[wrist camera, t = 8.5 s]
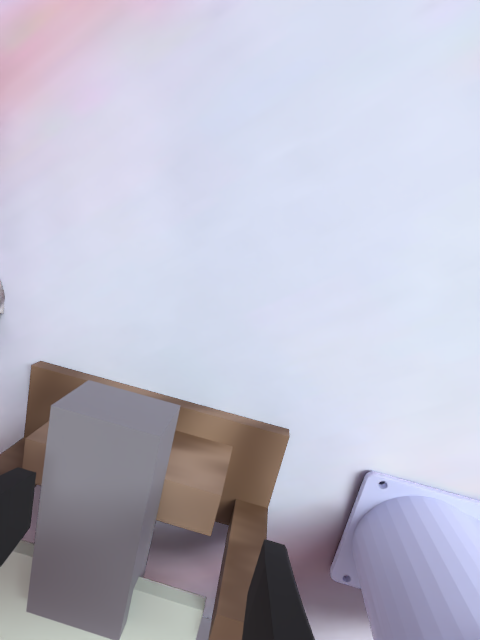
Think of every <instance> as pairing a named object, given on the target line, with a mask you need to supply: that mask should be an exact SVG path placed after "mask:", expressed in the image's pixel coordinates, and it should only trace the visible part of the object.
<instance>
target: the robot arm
mask: <svg viewBox="0 0 480 640" xmlns="http://www.w3.org/2000/svg"><path fill="white" fill-rule="evenodd" d="M35 479H36V472H33V471H29V470H26V469H23V468H19V467H17V468H15V469H13V470H11V471H8V472H6V473H4V474H2V475H0V567H1V566H2V565H3V563H4V562H5V561H6V559H7V558H8V557H9V555H10V554H11V553H12V551H13V550H14V549H15V547H16V546H17V545H18V543H19V542H20V540H21V539H22V538H23V536H24V535H25V533H26V532H27V530H28V529H29V528H30V523H31V514H32V506H33V497H34V488H35ZM381 481H385V483H384V484H382V485H381V484H379V482H381ZM330 575H331V578H332V579H333V580H334V581H336V582H339V583H342V584H345V585H349V586H352V587H355V588H359V589H361V590H362V594H363V598H364V602H365V606H366V610H367V614H368V618H369V622H370V626H371V631H372V635H373V639H374V640H480V501H479V500H475V499H472V498H468V497H464V496H461V495H457V494H454V493H450V492H447V491H443V490H439V489H436V488H432V487H429V486H425V485H422V484H418V483H414V482H411V481H407V480H404V479H400V478H396V477H393V476H389V475H386V474H382V473H379V472H374V471H371V472H368V473H367V474H366V475H365V476H364V479H363V482H362V484H361V487H360V490H359V493H358V495H357V498H356V501H355V503H354V506H353V509H352V511H351V514H350V517H349V520H348V522H347V525H346V528H345V530H344V533H343V536H342V538H341V541H340V544H339V546H338V549H337V552H336V555H335V557H334V560H333V563H332V565H331V568H330ZM345 575H348V576H345ZM242 640H315V639H314V636H313V633H312V630H311V627H310V625H309V622H308V619H307V616H306V613H305V610H304V607H303V604H302V601H301V598H300V595H299V592H298V588H297V585H296V582H295V578H294V575H293V571H292V568H291V564H290V560H289V556H288V552H287V549H286V547H285V545H282V544H279V543H276V542H272V541H269V540H265V539H264V541H263V544H262V548H261V551H260V554H259V557H258V561H257V564H256V567H255V570H254V574H253V577H252V580H251V583H250V587H249V590H248V594H247V602H246V610H245V618H244V626H243V634H242Z"/></svg>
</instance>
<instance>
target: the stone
mask: <svg viewBox="0 0 480 640" xmlns="http://www.w3.org/2000/svg"><path fill="white" fill-rule="evenodd" d="M2 287H3V286H2V285H1V281H0V313H2V314H3V312H4V310H3V308H4V299H5V295H4V290H3V289H2Z"/></svg>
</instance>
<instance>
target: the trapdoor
mask: <svg viewBox="0 0 480 640" xmlns="http://www.w3.org/2000/svg"><path fill="white" fill-rule="evenodd" d="M180 406H181V405H177V404H173V403H170V402H166V401H163V400H159V399H155V398H152V397H148V396H145V395H141V394H137V393H134V392H130V391H126V390H123V389H119V388H116V387H112V386H108V385H105V384H101V383H98V382H94V381H90V380H88V381H86V382H85V383H83V384H82V385H81V386H79V387H78V388H76V389H75V390H73V391H72V392H70V393H69V394H67V395H66V396H64V397H63V398H61V399H60V400H58V401H57V402H55V403H54V404H52V405H51V410H50V418H49V427H48V435H47V443H46V451H45V460H44V468H43V476H42V485H41V493H40V501H39V509H38V518H37V526H36V534H35V542H34V544H33V543H30V542H26V541H23V540H20V542H19V543H18V545H17V546H16V547H15V549H14V550H13V551H12V553H11V554H10V555H9V557H8V558H7V559H6V561H5V562H4V563H3V565H2V566H1V567H0V640H196V637H197V633H198V630H199V626H200V622H201V619H202V615H203V612H204V607H205V602H206V597H203V596H200V595H197V594H194V593H190V592H187V591H184V590H181V589H178V588H174V587H171V586H168V585H165V584H162V583H158V582H155V581H152V580H149V579H145V578H143V577H144V573H145V568H146V564H147V559H148V554H149V550H150V545H151V540H152V536H153V531H154V527H155V522H156V517H157V513H158V508H159V503H160V499H161V494H162V490H163V485H164V480H165V476H166V471H167V466H168V462H169V457H170V453H171V448H172V443H173V439H174V434H175V429H176V425H177V420H178V416H179V411H180Z"/></svg>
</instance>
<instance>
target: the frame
mask: <svg viewBox="0 0 480 640" xmlns="http://www.w3.org/2000/svg"><path fill="white" fill-rule="evenodd" d="M88 380H90V381H94V382H98V383H101V384H105V385H108V386H112V387H116V388H119V389H123V390H126V391H130V392H134V393H137V394H141V395H145V396H148V397H152V398H155V399H159V400H163V401H166V402H170V403H173V404H177V405H181V406H180V411H179V416H178V420H177V425H176V429H175V434H174V439H173V443H172V448H171V453H170V457H169V462H168V466H167V471H166V476H165V480H164V485H163V490H162V494H161V499H160V503H159V508H158V513H157V517H156V520H158V521H161V522H164V523H168V524H171V525H174V526H178V527H181V528H184V529H188V530H191V531H194V532H198V533H201V534H204V535H208V536H211V534H212V530H213V526H214V522H215V521H216V522H219V523H222V524H226V525H229V527H228V532H227V538H226V543H225V549H224V554H223V560H222V565H221V571H220V577H219V582H218V588H217V593H216V599H215V604H214V610H213V615H212V621H211V626H210V632H209V638H208V640H242V634H243V626H244V618H245V610H246V602H247V594H248V590H249V587H250V583H251V580H252V577H253V574H254V570H255V567H256V564H257V561H258V557H259V554H260V551H261V548H262V544H263V541H264V539H265V540H266V538H267V513H268V505H269V502H270V499H271V496H272V492H273V489H274V486H275V482H276V479H277V476H278V473H279V469H280V466H281V463H282V459H283V456H284V453H285V449H286V446H287V443H288V440H289V429H285V428H282V427H278V426H274V425H271V424H267V423H264V422H260V421H256V420H253V419H249V418H245V417H242V416H238V415H235V414H231V413H227V412H224V411H220V410H216V409H213V408H209V407H206V406H202V405H198V404H195V403H191V402H187V401H184V400H180V399H177V398H173V397H169V396H166V395H162V394H158V393H155V392H151V391H148V390H144V389H140V388H137V387H133V386H130V385H126V384H122V383H119V382H115V381H111V380H108V379H104V378H101V377H97V376H93V375H90V374H86V373H82V372H79V371H75V370H72V369H68V368H64V367H61V366H57V365H53V364H50V363H46V362H43V361H40V362H37V363H35V364H33V365H31V375H30V385H29V394H28V404H27V414H26V423H25V433H24V438H22V439H21V440H19V441H18V442H17V443H15V444H14V445H13V446H11V447H10V448H9V449H7V450H6V451H4V452H3V453H2V454H0V475H2V474H4V473H6V472H8V471H11V470H13V469H15V468H17V467H19V468H23V469H26V470H29V471H33V472H36V479H35V486H36V485H42V476H43V468H44V460H45V451H46V443H47V435H48V427H49V418H50V410H51V405H52V404H54V403H55V402H57V401H58V400H60V399H61V398H63V397H64V396H66V395H67V394H69V393H70V392H72V391H73V390H75V389H76V388H78V387H79V386H81V385H82V384H83V383H85V382H86V381H88Z"/></svg>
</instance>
